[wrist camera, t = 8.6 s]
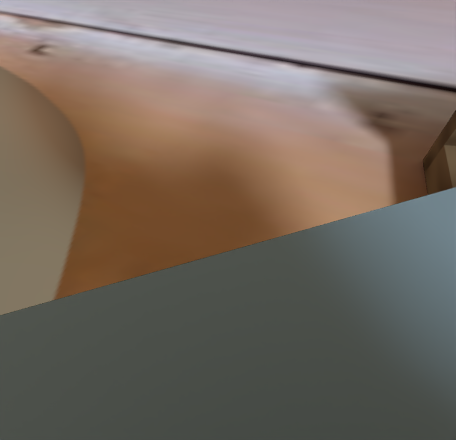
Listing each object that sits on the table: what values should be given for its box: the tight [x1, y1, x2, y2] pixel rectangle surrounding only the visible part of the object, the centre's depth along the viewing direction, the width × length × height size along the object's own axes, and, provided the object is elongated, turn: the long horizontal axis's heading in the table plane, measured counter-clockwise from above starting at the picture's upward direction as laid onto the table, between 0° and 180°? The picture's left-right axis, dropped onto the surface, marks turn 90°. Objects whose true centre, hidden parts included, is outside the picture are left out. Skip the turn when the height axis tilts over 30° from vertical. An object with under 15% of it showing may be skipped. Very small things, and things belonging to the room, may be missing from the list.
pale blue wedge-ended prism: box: [0, 187, 456, 440], centre depth 8 cm, size 3×6×13 cm, turn 105°
